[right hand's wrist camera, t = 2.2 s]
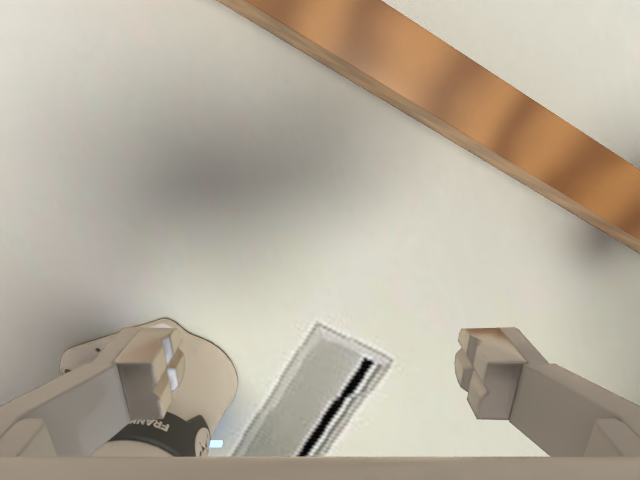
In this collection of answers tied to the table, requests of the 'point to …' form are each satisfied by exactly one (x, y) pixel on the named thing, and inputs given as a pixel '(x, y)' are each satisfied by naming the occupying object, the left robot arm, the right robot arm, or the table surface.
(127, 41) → the table surface
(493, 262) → the table surface
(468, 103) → the post
